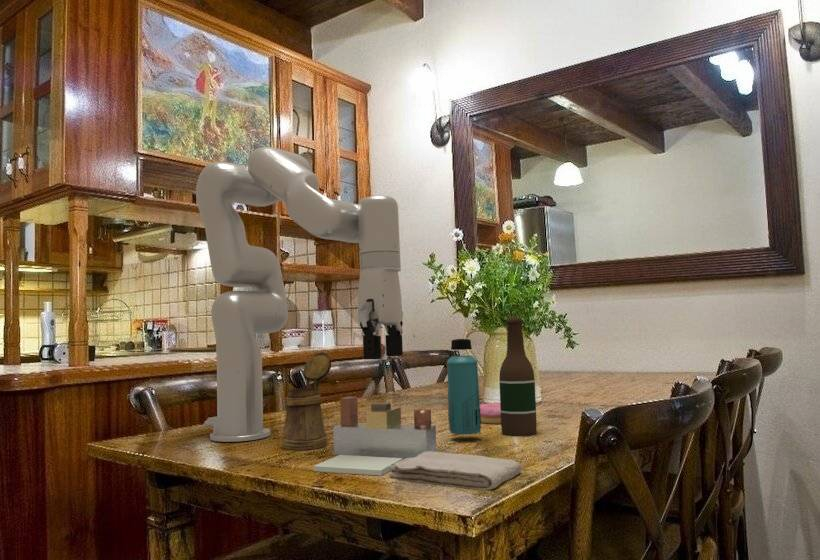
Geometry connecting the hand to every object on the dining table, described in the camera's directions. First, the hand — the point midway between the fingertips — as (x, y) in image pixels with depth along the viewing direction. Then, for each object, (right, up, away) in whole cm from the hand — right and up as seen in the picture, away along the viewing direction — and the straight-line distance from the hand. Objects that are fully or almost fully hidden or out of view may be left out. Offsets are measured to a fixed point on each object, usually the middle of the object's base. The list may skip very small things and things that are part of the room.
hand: (384, 357), depth 115 cm
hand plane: (0, -17, -1) cm, 17 cm away
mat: (-4, -17, -11) cm, 20 cm away
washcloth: (+12, -17, -18) cm, 27 cm away
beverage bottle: (+16, -18, +11) cm, 26 cm away
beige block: (0, -12, -1) cm, 12 cm away
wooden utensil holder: (-15, -19, +12) cm, 27 cm away
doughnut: (+26, -19, +33) cm, 46 cm away
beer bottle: (+27, -18, +16) cm, 37 cm away
